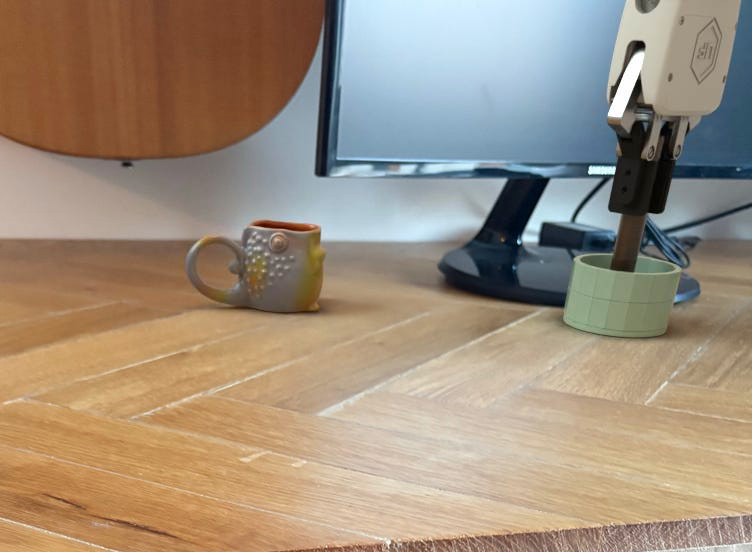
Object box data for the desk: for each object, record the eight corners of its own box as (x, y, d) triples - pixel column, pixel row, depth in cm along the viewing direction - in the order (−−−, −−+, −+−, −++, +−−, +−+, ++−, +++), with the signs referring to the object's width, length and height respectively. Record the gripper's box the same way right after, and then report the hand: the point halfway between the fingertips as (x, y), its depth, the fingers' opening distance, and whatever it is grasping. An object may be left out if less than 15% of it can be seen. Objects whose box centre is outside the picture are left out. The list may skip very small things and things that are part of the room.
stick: (622, 296, 86) (659, 134, 79) (642, 305, 83) (681, 137, 77) (589, 296, 85) (623, 132, 79) (607, 305, 83) (644, 136, 76)
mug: (308, 295, 90) (313, 216, 87) (331, 313, 84) (337, 230, 81) (177, 298, 87) (177, 216, 84) (192, 317, 82) (192, 230, 78)
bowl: (633, 311, 90) (646, 253, 87) (687, 337, 83) (703, 274, 80) (545, 312, 88) (556, 253, 85) (592, 338, 81) (606, 274, 78)
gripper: (690, -79, 64) (624, 227, 74) (795, -55, 73) (725, 213, 83) (589, -75, 69) (539, 212, 78) (700, -53, 78) (644, 200, 88)
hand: (635, 210), depth 81 cm, fingers closed on stick, 2 cm apart
